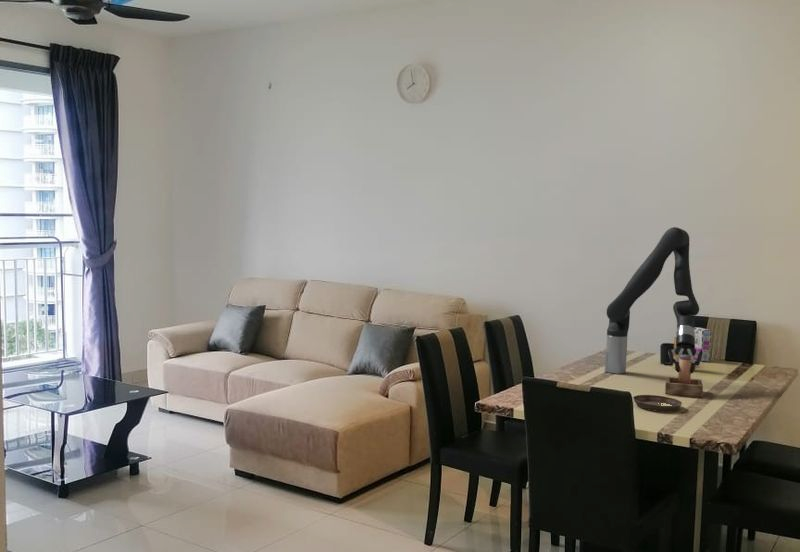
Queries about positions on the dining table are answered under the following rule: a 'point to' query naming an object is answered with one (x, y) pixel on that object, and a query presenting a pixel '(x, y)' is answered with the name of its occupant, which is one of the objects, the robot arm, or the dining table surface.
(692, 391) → the bin
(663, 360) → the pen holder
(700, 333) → the candy bar box
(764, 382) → the dining table surface
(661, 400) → the plant saucer
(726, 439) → the dining table surface
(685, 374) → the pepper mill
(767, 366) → the dining table surface
